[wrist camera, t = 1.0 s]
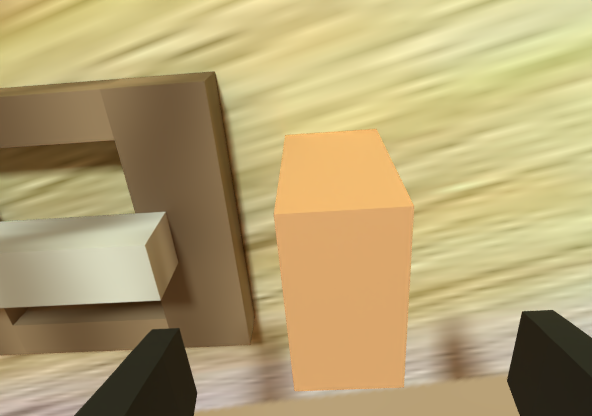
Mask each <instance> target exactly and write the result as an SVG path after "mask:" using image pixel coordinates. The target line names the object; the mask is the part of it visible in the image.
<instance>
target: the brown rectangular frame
mask: <svg viewBox="0 0 592 416" xmlns="http://www.w3.org/2000/svg"><path fill="white" fill-rule="evenodd" d="M109 140H115V144H116V147H117V151H118V154H119V158H120V161H121V165H122V168H123V172H124V175H125V178H126V182H127V185H128V189H129V192H130V196H131V199H132V203H133V206H134V210H135V213H136V214H119V215H103V216H86V217H69V218H53V219H36V220H19V221H3V222H0V355H16V354H40V353H64V352H88V351H113V350H134V348H135V347H136V346H137V345H138V344H139V343H140V342H141V341H142V339H143V338H144V337H145V336H146V335H147V334H148V333H149V332H150V331H151V330H152V329H168V328H180V332H181V336H182V339H183V343H184V347H209V346H233V345H250V344H251V337H252V331H253V325H254V311H253V305H252V299H251V293H250V287H249V281H248V274H247V268H246V262H245V256H244V250H243V244H242V237H241V231H240V225H239V219H238V213H237V207H236V200H235V194H234V188H233V182H232V176H231V170H230V163H229V157H228V151H227V145H226V139H225V133H224V126H223V120H222V114H221V108H220V102H219V95H218V89H217V83H216V77H215V72H203V73H190V74H177V75H164V76H152V77H139V78H126V79H113V80H101V81H88V82H75V83H62V84H50V85H37V86H24V87H11V88H0V148H9V147H23V146H38V145H52V144H66V143H80V142H95V141H109Z"/></svg>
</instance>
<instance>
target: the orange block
mask: <svg viewBox="0 0 592 416" xmlns="http://www.w3.org/2000/svg"><path fill="white" fill-rule="evenodd" d="M413 217H414V205H413V203H412V201H411V199H410V197H409V195H408V193H407V191H406V189H405V187H404V185H403V183H402V180H401V178H400V176H399V174H398V172H397V170H396V168H395V166H394V164H393V162H392V160H391V158H390V156H389V154H388V152H387V150H386V148H385V146H384V144H383V142H382V139H381V137H380V135H379V133H378V131H377V129H368V130H354V131H339V132H325V133H310V134H296V135H285V141H284V148H283V155H282V161H281V168H280V175H279V182H278V189H277V196H276V203H275V210H274V220H275V228H276V237H277V245H278V254H279V262H280V271H281V280H282V288H283V297H284V305H285V314H286V322H287V331H288V339H289V348H290V356H291V365H292V373H293V382H294V391H315V390H343V389H372V388H401V387H404V375H405V357H406V339H407V322H408V304H409V287H410V269H411V252H412V234H413Z"/></svg>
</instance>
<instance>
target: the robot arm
mask: <svg viewBox="0 0 592 416" xmlns="http://www.w3.org/2000/svg"><path fill="white" fill-rule="evenodd" d="M507 382H508V385H509V387H510V390H511V393H512V396H513V398H514V401H515V404H516V406H517V409H518V412H519V414H520V416H592V338H591V337H590V336H588V335H587V334H586V333H584V332H583V331H582V330H580V329H579V328H577V327H576V326H575V325H573V324H572V323H571V322H569V321H568V320H566V319H565V318H564V317H562V316H561V315H559V314H558V313H556V312H555V311H553V310H543V311H522V315H521V319H520V324H519V328H518V333H517V338H516V342H515V347H514V351H513V356H512V360H511V365H510V369H509V374H508V379H507ZM196 398H197V391H196V387H195V383H194V380H193V376H192V372H191V369H190V365H189V361H188V358H187V354H186V350H185V347H184V343H183V339H182V336H181V332H180V328H168V329H152V330H151V331H150V332H149V333H148V334H147V335H146V336H145V337H144V338H143V339H142V341H141V342H140V343H139V344H138V345H137V346H136V347H135V348H134V350H133V351H132V352H131V353H130V354H129V355H128V356H127V357H126V359H125V360H124V361H123V362H122V363H121V364H120V365H119V367H118V368H117V369H116V370H115V371H114V372H113V373H112V375H111V376H110V377H109V378H108V379H107V380H106V381H105V382H104V384H103V385H102V386H101V387H100V388H99V389H98V390H97V391H96V392H95V393H94V395H93V396H92V397H91V398H90V399H89V400H88V401H87V402H86V403H85V404H84V405H83V407H82V408H81V409H80V410H79V411H78V412H77V413H76V414H75V415H74V416H194V410H195V404H196Z"/></svg>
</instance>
